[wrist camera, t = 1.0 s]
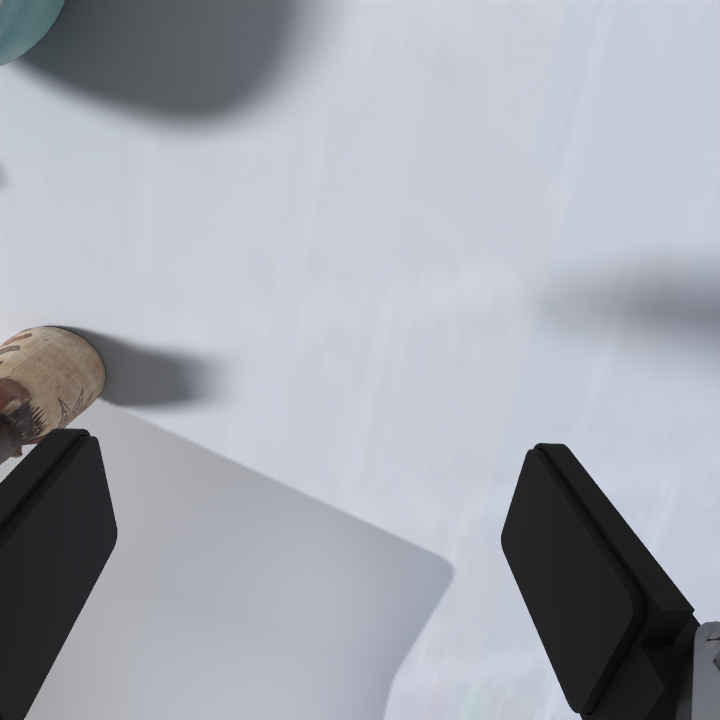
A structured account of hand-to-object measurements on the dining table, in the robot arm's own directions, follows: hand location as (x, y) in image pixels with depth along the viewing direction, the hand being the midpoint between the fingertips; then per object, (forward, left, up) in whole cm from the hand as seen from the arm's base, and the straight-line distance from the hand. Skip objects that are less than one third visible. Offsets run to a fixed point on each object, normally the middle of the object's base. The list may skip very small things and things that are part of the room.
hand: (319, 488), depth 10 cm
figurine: (+11, -20, -25) cm, 34 cm away
